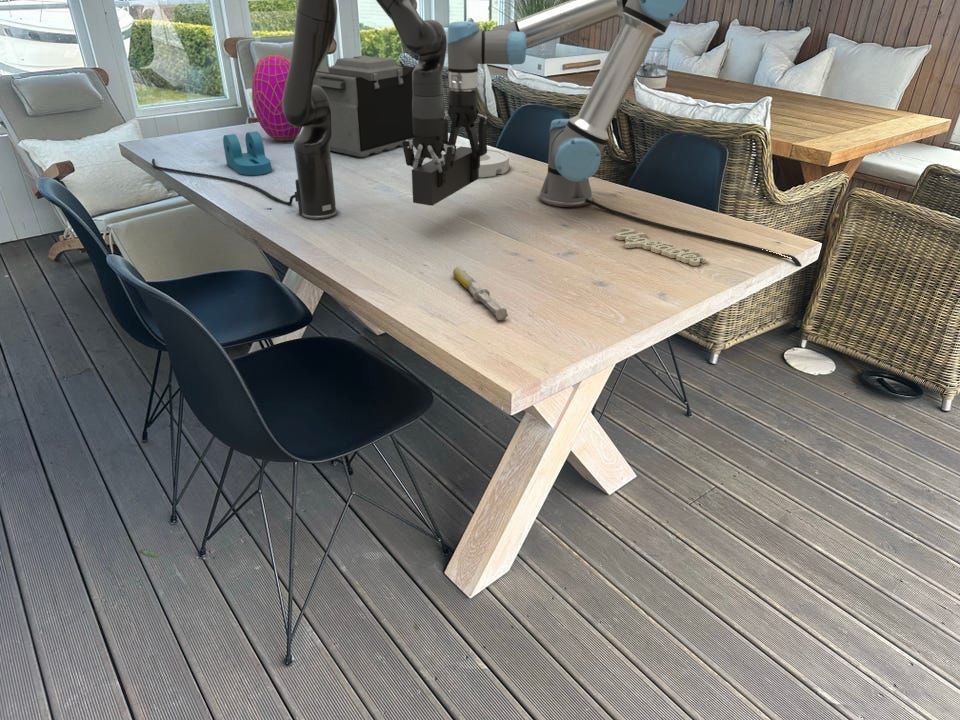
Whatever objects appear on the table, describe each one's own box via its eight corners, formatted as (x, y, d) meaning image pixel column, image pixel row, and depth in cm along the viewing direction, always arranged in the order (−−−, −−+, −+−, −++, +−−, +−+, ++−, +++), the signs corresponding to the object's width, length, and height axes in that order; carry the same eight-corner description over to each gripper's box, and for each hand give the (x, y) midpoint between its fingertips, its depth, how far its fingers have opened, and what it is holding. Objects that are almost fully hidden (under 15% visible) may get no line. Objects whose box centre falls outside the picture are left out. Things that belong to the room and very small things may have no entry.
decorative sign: (601, 235, 175) (625, 226, 181) (600, 238, 175) (625, 230, 181) (689, 266, 158) (713, 255, 164) (689, 269, 158) (713, 259, 164)
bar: (461, 176, 192) (460, 146, 187) (478, 178, 190) (479, 148, 185) (412, 202, 171) (411, 169, 166) (432, 205, 169) (431, 172, 164)
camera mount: (227, 164, 233) (221, 132, 227) (257, 160, 238) (252, 129, 233) (244, 176, 220) (239, 143, 215) (276, 172, 225) (271, 139, 220)
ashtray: (443, 158, 243) (443, 147, 241) (508, 159, 242) (508, 148, 240) (437, 176, 223) (437, 164, 221) (508, 178, 222) (509, 165, 220)
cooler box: (383, 133, 276) (378, 52, 261) (425, 141, 265) (422, 56, 250) (314, 150, 251) (304, 61, 235) (358, 160, 240) (350, 67, 224)
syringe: (449, 274, 155) (449, 263, 153) (465, 272, 156) (464, 260, 154) (490, 323, 135) (491, 310, 133) (508, 319, 136) (508, 307, 134)
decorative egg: (293, 132, 276) (283, 50, 261) (319, 140, 264) (310, 56, 249) (249, 139, 265) (236, 54, 250) (273, 148, 253) (261, 60, 238)
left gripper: (393, 114, 162) (397, 185, 171) (447, 120, 157) (448, 193, 165) (409, 108, 168) (412, 177, 176) (462, 114, 163) (462, 185, 171)
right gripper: (424, 88, 176) (426, 178, 188) (489, 94, 169) (488, 187, 181) (437, 84, 182) (439, 171, 193) (502, 89, 175) (499, 180, 187)
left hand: (430, 184), depth 171 cm, fingers closed on bar, 5 cm apart
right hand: (463, 179), depth 187 cm, fingers closed on bar, 5 cm apart
